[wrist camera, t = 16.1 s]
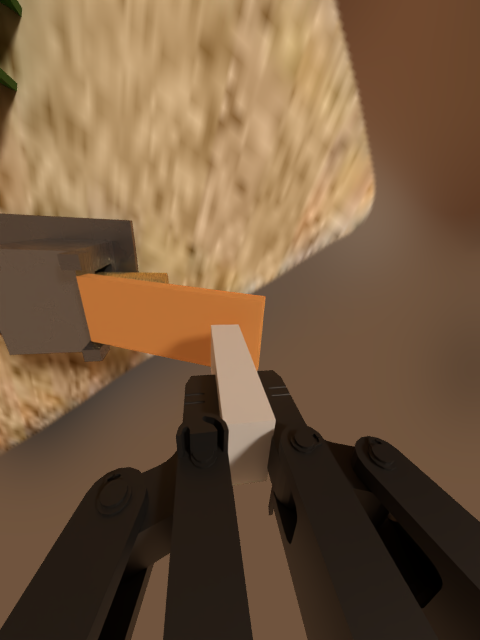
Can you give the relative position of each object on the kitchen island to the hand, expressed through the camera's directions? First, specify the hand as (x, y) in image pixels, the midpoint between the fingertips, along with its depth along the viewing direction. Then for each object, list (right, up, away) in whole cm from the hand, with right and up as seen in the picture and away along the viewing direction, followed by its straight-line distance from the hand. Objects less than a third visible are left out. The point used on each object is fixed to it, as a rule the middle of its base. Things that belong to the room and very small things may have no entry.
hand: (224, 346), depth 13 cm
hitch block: (-18, +6, +12) cm, 23 cm away
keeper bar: (-10, +2, +4) cm, 11 cm away
